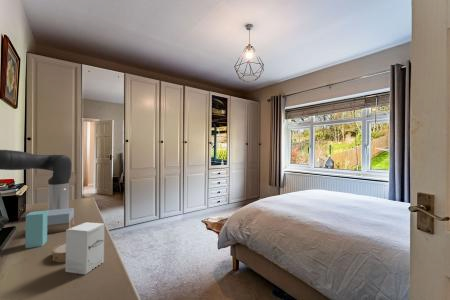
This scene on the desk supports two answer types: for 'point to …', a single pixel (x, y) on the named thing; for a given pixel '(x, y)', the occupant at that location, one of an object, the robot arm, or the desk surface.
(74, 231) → the supplement box
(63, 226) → the block
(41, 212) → the teal block
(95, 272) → the desk surface
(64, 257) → the alarm clock
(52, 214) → the tower top
